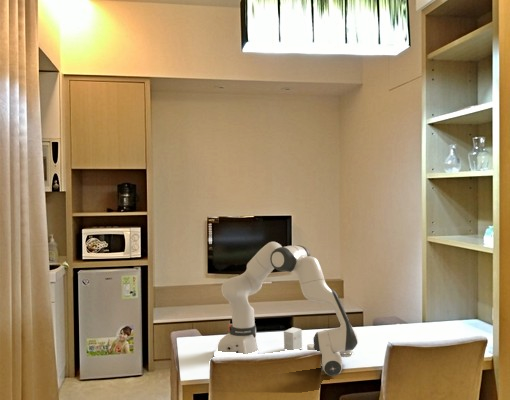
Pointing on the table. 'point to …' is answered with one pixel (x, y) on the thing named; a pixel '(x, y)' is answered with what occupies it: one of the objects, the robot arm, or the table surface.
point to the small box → (293, 339)
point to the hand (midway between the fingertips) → (328, 344)
